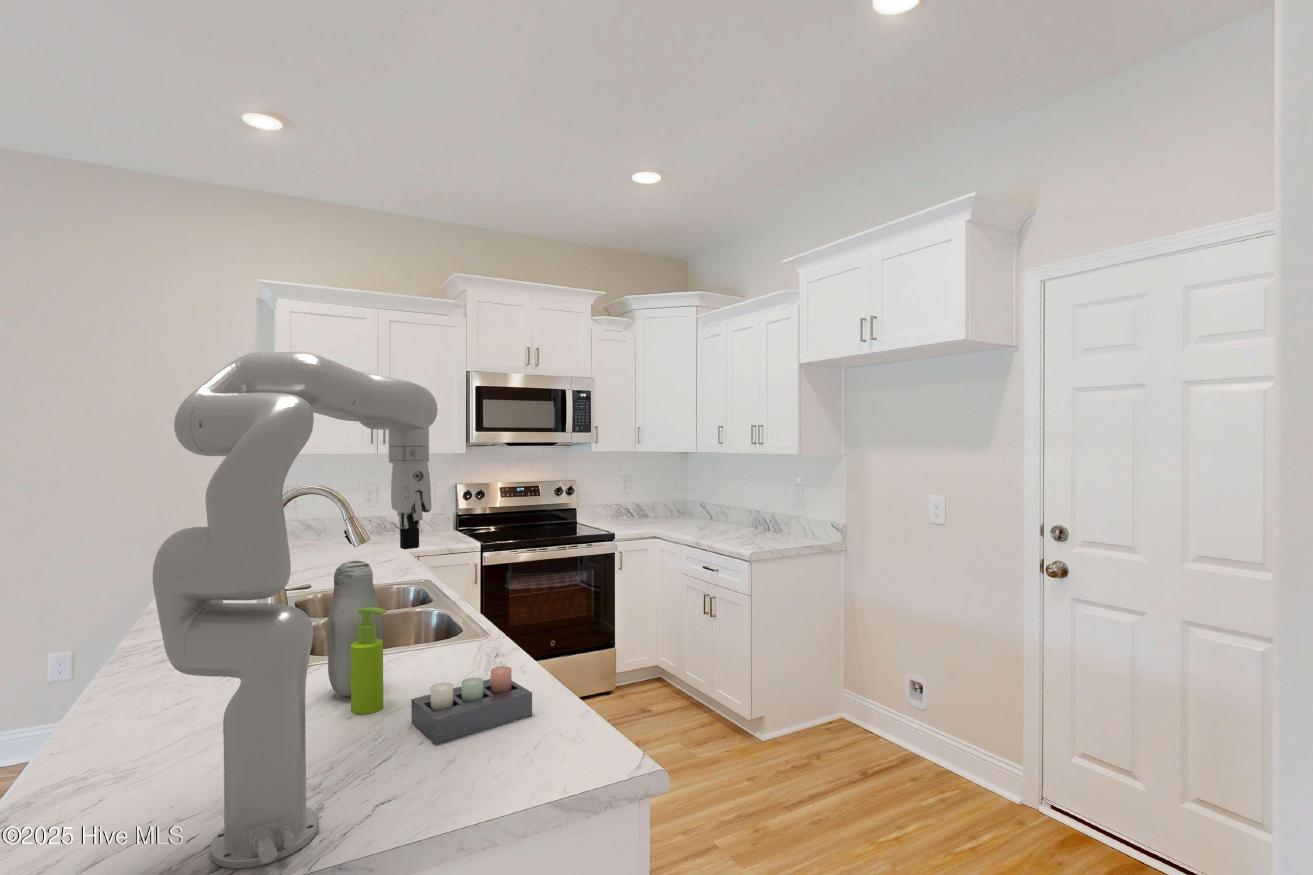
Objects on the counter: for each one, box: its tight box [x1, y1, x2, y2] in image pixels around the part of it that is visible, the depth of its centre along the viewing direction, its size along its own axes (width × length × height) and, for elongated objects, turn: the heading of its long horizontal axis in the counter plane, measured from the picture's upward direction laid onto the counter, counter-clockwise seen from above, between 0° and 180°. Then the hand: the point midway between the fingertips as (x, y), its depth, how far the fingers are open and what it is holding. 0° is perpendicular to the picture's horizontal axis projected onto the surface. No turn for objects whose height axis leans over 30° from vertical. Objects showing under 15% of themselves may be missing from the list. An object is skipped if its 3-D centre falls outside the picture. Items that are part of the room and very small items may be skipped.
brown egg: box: [490, 666, 513, 695], centre depth 131 cm, size 4×4×5 cm
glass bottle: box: [326, 560, 383, 698], centre depth 140 cm, size 10×10×28 cm
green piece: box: [460, 677, 484, 703], centre depth 127 cm, size 4×4×5 cm
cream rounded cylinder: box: [429, 682, 454, 712], centre depth 124 cm, size 4×4×5 cm
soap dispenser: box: [350, 607, 388, 716], centre depth 133 cm, size 6×7×20 cm
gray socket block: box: [410, 678, 533, 746], centre depth 127 cm, size 12×19×4 cm, turn 130°
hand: (409, 547), depth 132 cm, fingers closed
